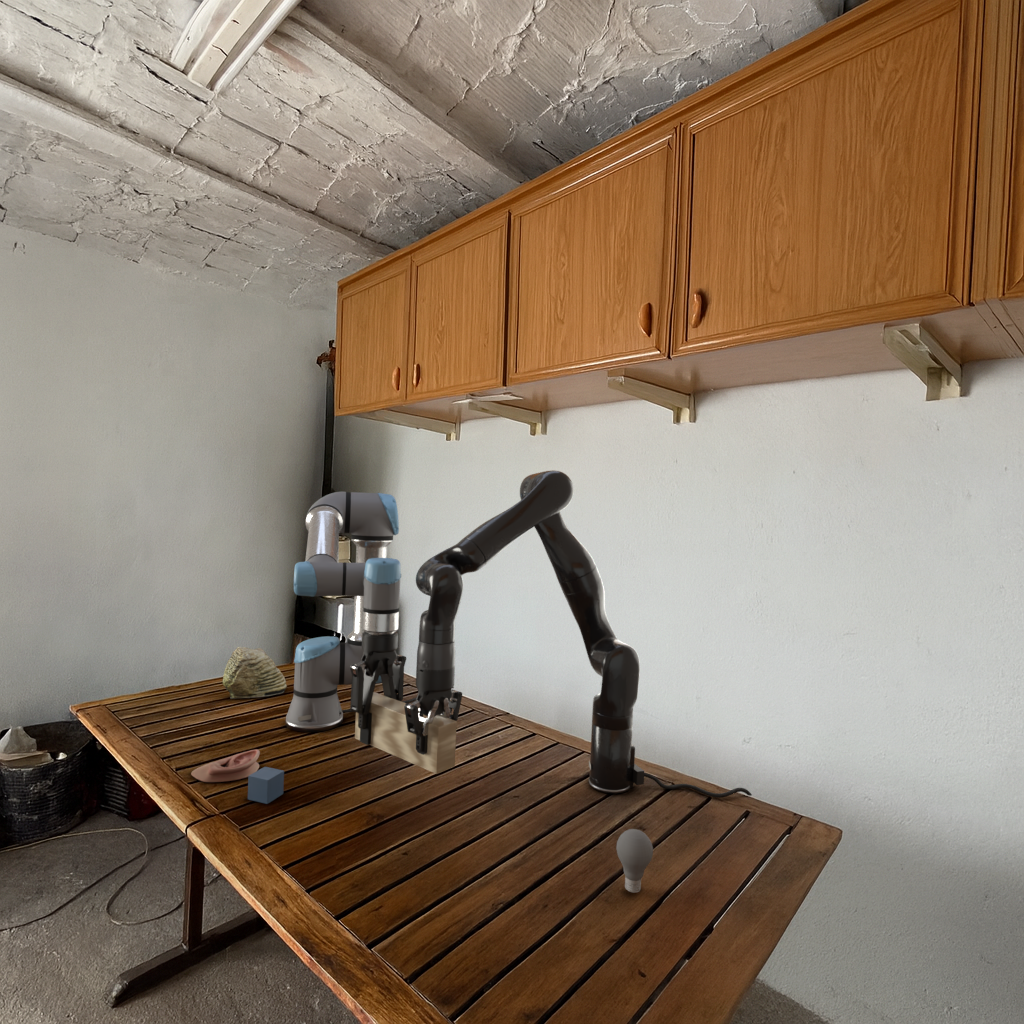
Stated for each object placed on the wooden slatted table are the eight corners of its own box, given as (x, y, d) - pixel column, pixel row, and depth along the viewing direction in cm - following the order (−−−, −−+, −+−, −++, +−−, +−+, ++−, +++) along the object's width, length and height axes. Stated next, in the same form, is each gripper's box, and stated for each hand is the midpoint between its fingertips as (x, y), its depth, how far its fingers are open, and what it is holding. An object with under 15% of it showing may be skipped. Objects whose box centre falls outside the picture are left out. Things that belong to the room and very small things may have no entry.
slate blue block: (264, 789, 136) (265, 766, 136) (283, 793, 134) (284, 770, 134) (247, 799, 131) (248, 775, 131) (267, 804, 130) (268, 780, 130)
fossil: (218, 695, 195) (220, 647, 195) (278, 685, 208) (279, 640, 207) (228, 703, 189) (230, 653, 188) (289, 692, 201) (290, 645, 201)
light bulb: (610, 879, 108) (613, 822, 108) (644, 879, 109) (647, 822, 109) (619, 902, 102) (622, 840, 102) (655, 901, 103) (658, 840, 103)
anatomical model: (182, 760, 139) (216, 741, 150) (181, 778, 139) (216, 758, 150) (236, 768, 136) (267, 748, 147) (235, 786, 136) (266, 765, 147)
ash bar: (354, 738, 136) (356, 696, 136) (373, 732, 140) (374, 692, 140) (436, 774, 120) (438, 727, 120) (454, 766, 124) (456, 721, 124)
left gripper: (400, 623, 144) (396, 724, 145) (334, 634, 130) (329, 746, 131) (423, 628, 140) (419, 732, 140) (356, 640, 126) (352, 756, 126)
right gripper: (447, 653, 132) (444, 734, 133) (395, 666, 121) (391, 754, 121) (474, 660, 128) (470, 744, 128) (422, 674, 116) (418, 765, 117)
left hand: (376, 739), depth 135 cm, fingers closed on ash bar, 5 cm apart
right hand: (432, 748), depth 125 cm, fingers closed on ash bar, 5 cm apart
